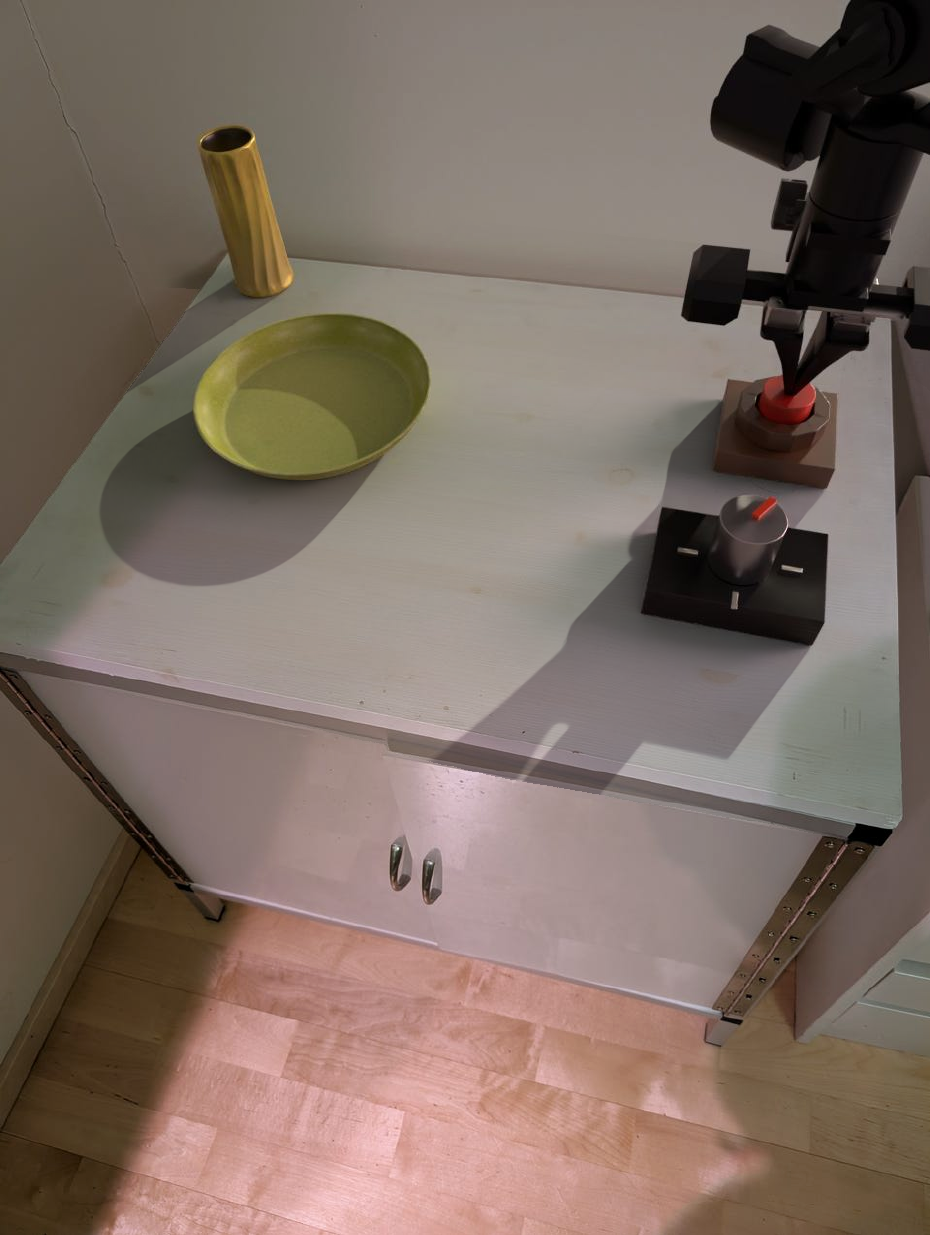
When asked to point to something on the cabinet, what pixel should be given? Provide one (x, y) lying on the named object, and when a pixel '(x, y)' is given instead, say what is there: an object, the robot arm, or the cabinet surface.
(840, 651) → the cabinet surface
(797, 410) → the button
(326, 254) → the cabinet surface
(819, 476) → the button block
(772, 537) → the knob
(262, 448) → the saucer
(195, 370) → the cabinet surface
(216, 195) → the vase
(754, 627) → the panel
